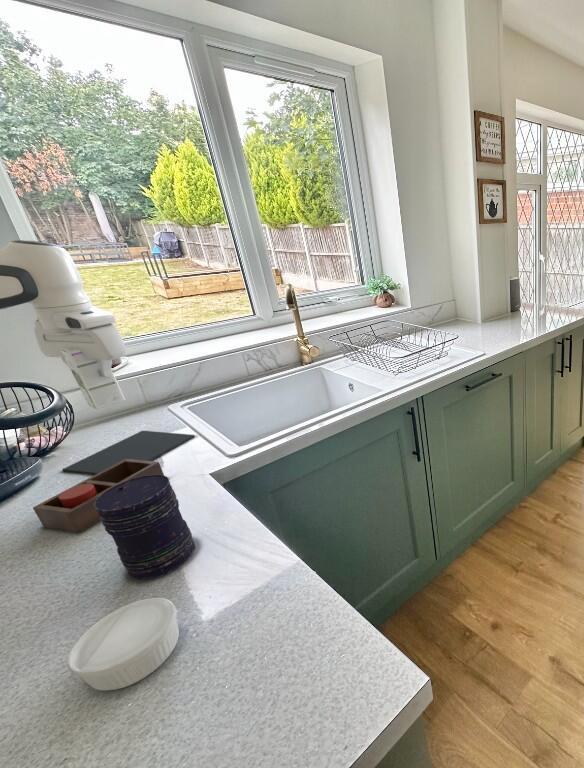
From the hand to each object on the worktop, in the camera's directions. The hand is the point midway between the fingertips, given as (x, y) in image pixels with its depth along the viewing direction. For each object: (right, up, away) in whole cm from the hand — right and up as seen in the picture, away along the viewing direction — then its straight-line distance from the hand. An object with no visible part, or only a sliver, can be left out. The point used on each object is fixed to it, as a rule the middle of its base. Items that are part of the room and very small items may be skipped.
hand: (94, 375), depth 97 cm
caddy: (+9, -28, -6) cm, 30 cm away
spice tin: (+8, -30, -10) cm, 32 cm away
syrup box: (0, -7, +3) cm, 7 cm away
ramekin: (+45, -41, -39) cm, 72 cm away
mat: (-3, -20, +14) cm, 25 cm away
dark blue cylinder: (+35, -34, -21) cm, 53 cm away
